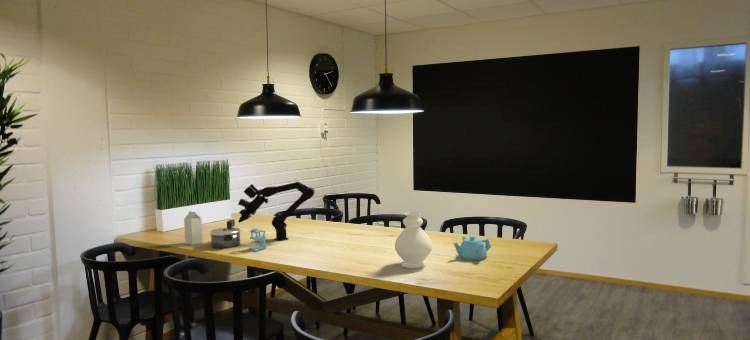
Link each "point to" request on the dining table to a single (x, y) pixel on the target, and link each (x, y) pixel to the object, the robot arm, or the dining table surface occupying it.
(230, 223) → the cooker lid
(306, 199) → the robot arm
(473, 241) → the teapot
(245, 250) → the dining table surface
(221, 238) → the cooker pot
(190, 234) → the milk carton
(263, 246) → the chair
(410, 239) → the decorative vase
